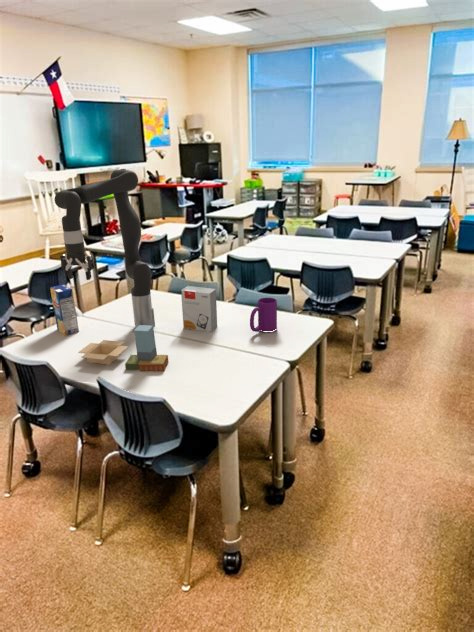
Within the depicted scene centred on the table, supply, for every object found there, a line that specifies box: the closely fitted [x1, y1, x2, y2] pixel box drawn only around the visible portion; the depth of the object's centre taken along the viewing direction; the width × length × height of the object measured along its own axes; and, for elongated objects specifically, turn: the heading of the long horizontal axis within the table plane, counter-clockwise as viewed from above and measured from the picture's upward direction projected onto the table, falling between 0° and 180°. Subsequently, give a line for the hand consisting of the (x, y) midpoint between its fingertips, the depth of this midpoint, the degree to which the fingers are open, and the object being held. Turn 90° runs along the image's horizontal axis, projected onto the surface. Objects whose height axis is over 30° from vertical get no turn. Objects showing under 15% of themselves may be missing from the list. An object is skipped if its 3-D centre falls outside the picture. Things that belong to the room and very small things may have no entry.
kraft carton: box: [78, 339, 129, 365], centre depth 201 cm, size 18×18×5 cm
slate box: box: [133, 325, 158, 361], centre depth 191 cm, size 6×6×13 cm
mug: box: [249, 297, 278, 333], centre depth 223 cm, size 9×16×15 cm, turn 131°
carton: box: [124, 354, 170, 372], centre depth 194 cm, size 8×16×4 cm, turn 86°
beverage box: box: [49, 284, 80, 336], centre depth 230 cm, size 7×11×22 cm, turn 39°
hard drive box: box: [180, 285, 218, 333], centre depth 229 cm, size 16×8×20 cm, turn 68°
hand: (79, 279), depth 199 cm, fingers open, 8 cm apart
